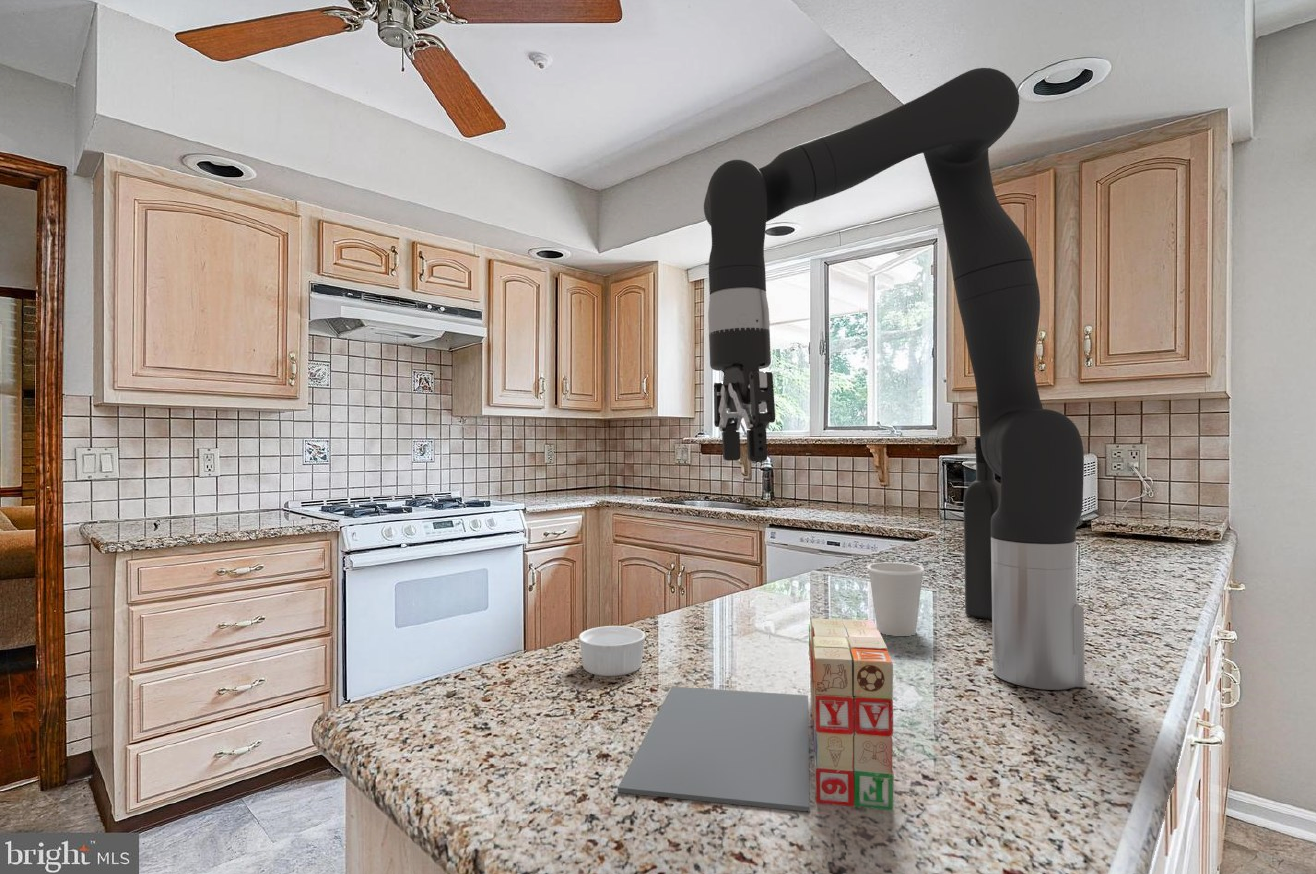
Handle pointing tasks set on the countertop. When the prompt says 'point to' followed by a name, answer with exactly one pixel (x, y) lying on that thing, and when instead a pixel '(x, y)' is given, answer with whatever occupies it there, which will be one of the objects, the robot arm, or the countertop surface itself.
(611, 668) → the ramekin
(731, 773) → the mat
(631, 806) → the countertop surface
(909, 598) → the dixie cup
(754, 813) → the countertop surface
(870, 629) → the stack of blocks
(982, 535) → the wine bottle
